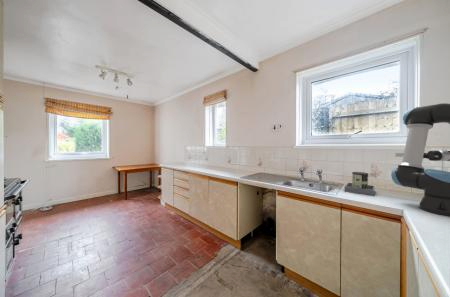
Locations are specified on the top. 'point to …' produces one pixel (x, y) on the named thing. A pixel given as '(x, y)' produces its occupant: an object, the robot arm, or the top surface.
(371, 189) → the tray
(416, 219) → the top surface
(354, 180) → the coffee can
